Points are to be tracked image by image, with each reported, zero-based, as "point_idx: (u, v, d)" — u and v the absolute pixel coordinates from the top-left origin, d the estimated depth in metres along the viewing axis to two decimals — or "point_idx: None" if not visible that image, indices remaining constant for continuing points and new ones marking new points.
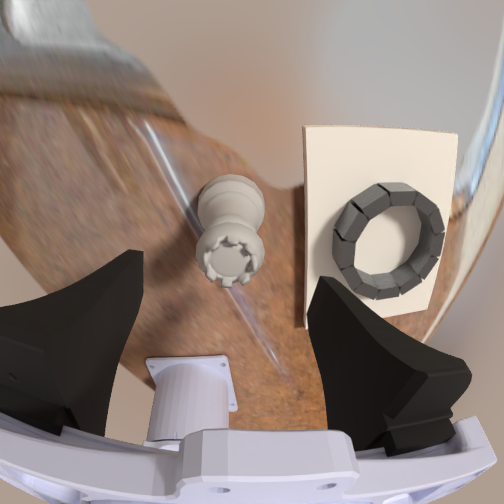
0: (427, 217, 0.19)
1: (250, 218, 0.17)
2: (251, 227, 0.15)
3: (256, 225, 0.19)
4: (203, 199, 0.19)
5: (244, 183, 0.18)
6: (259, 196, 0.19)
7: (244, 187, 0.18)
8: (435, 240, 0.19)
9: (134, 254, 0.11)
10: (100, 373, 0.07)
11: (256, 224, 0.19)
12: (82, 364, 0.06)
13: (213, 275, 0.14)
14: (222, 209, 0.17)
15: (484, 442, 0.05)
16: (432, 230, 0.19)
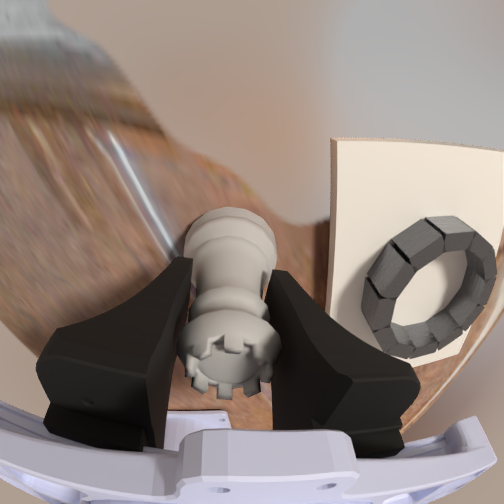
0: (480, 261, 0.13)
1: (258, 281, 0.11)
2: (261, 304, 0.10)
3: (265, 282, 0.13)
4: (190, 245, 0.13)
5: (248, 222, 0.13)
6: (270, 240, 0.13)
7: (248, 229, 0.13)
8: (485, 287, 0.14)
9: (186, 262, 0.11)
10: (166, 386, 0.08)
11: (265, 281, 0.13)
12: (160, 380, 0.06)
13: (203, 386, 0.08)
14: (217, 269, 0.11)
15: (484, 442, 0.05)
16: (483, 276, 0.14)
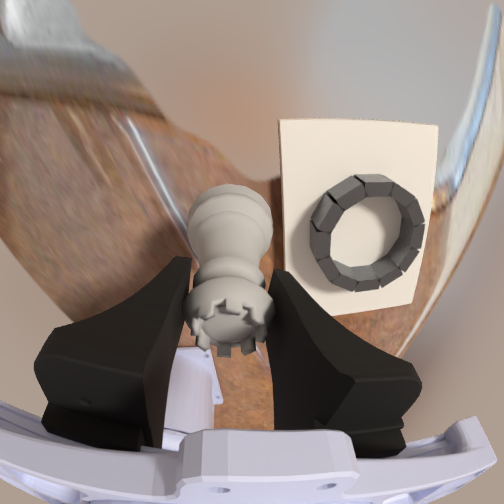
0: (406, 209, 0.19)
1: (255, 252, 0.13)
2: (258, 273, 0.11)
3: (262, 254, 0.15)
4: (194, 218, 0.14)
5: (248, 199, 0.14)
6: (267, 215, 0.15)
7: (248, 205, 0.14)
8: (415, 232, 0.20)
9: (185, 261, 0.11)
10: (164, 386, 0.08)
11: (262, 252, 0.15)
12: (157, 380, 0.06)
13: (206, 345, 0.10)
14: (219, 241, 0.12)
15: (484, 442, 0.05)
16: (411, 222, 0.20)
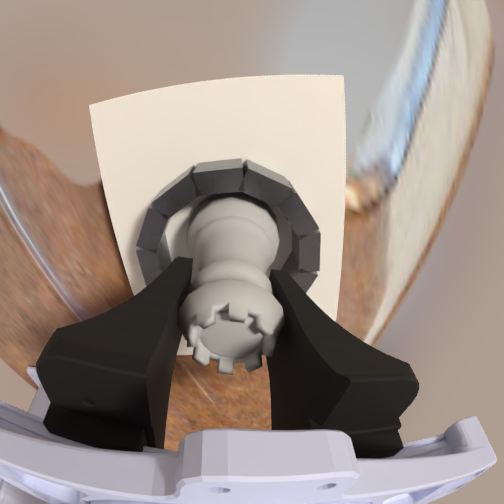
0: (281, 210, 0.13)
1: (261, 260, 0.12)
2: (264, 279, 0.10)
3: (267, 264, 0.13)
4: (194, 225, 0.13)
5: (253, 204, 0.13)
6: (273, 223, 0.14)
7: (253, 210, 0.13)
8: (303, 246, 0.14)
9: (186, 262, 0.11)
10: (166, 386, 0.08)
11: (268, 263, 0.13)
12: (160, 380, 0.06)
13: (205, 359, 0.09)
14: (221, 245, 0.11)
15: (484, 442, 0.05)
16: (294, 230, 0.14)
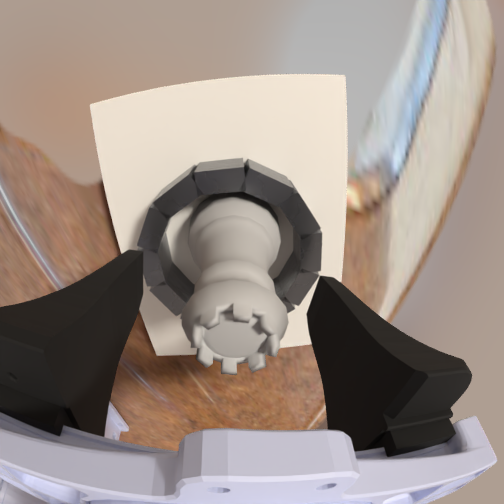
0: (282, 210, 0.13)
1: (264, 259, 0.12)
2: (267, 279, 0.10)
3: (269, 264, 0.13)
4: (196, 224, 0.13)
5: (254, 204, 0.13)
6: (275, 222, 0.14)
7: (254, 210, 0.13)
8: (304, 246, 0.14)
9: (134, 254, 0.11)
10: (100, 373, 0.07)
11: (269, 262, 0.13)
12: (82, 364, 0.06)
13: (208, 359, 0.09)
14: (223, 245, 0.11)
15: (484, 442, 0.05)
16: (295, 230, 0.14)
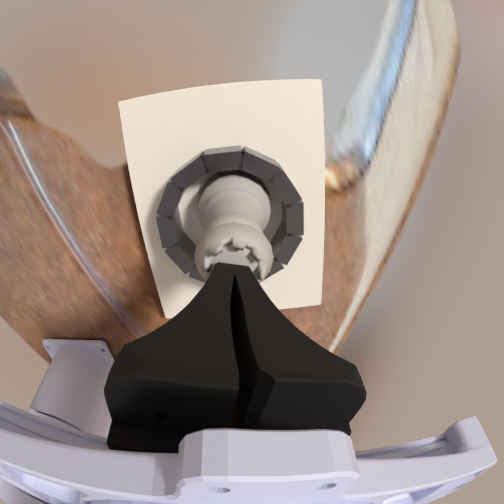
0: (271, 184, 0.17)
1: (256, 219, 0.15)
2: (258, 229, 0.14)
3: (261, 226, 0.17)
4: (204, 196, 0.17)
5: (250, 180, 0.17)
6: (265, 195, 0.17)
7: (249, 184, 0.17)
8: (289, 213, 0.17)
9: (229, 267, 0.11)
10: None
11: (261, 225, 0.17)
12: None
13: None
14: (225, 207, 0.15)
15: (484, 442, 0.05)
16: (282, 200, 0.17)
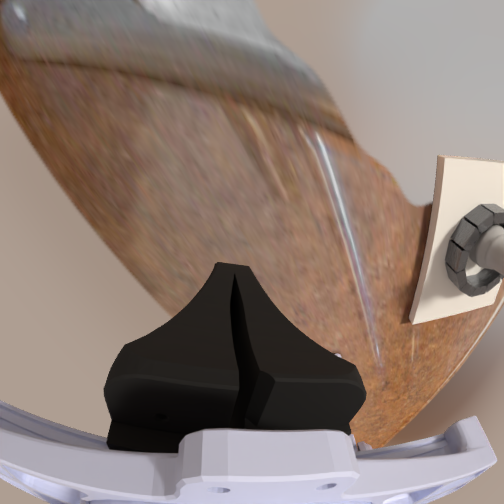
0: None
1: None
2: None
3: None
4: (486, 238, 0.20)
5: None
6: None
7: None
8: None
9: (229, 268, 0.11)
10: None
11: None
12: None
13: None
14: None
15: (484, 442, 0.05)
16: None
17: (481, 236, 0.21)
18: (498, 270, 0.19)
